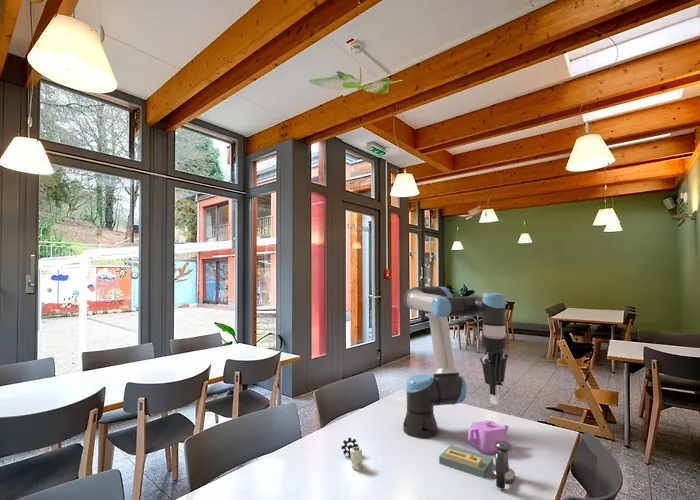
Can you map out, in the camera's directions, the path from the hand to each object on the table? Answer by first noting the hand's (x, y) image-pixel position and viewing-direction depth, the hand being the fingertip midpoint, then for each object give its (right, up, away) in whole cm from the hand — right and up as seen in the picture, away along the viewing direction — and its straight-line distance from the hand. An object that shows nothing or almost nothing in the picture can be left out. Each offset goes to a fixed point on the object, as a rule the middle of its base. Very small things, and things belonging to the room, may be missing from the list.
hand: (494, 403), depth 127 cm
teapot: (+4, -25, +15) cm, 29 cm away
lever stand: (-9, -23, +3) cm, 25 cm away
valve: (-50, -24, +4) cm, 56 cm away
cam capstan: (-1, -22, -8) cm, 24 cm away
